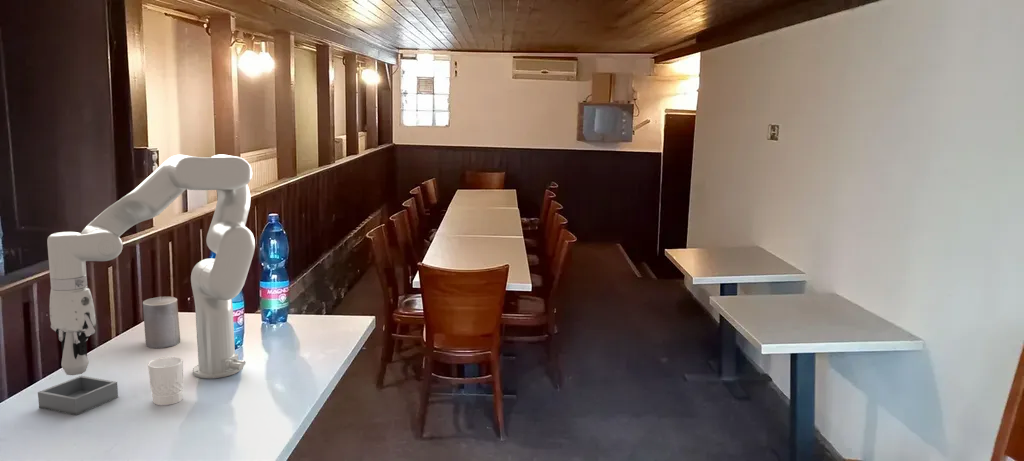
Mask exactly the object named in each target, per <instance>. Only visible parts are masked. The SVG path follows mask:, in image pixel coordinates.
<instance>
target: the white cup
mask: <svg viewBox="0 0 1024 461" xmlns="http://www.w3.org/2000/svg"><path fill="white" fill-rule="evenodd" d="M147 368H148V369H147V370H148V376H149V383H150V391H151V395H152V402H153V404H154V405H157V406H170V405H173V404H177V403H179V402H181V401H183V398H184V397H183V396H184V393H183V389H184V360H183V358H181V357H178V356H165V357H160V358H156V359H153V360H150V361H149V362H148V364H147Z"/></svg>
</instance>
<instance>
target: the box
mask: <svg viewBox="0 0 1024 461" xmlns="http://www.w3.org/2000/svg"><path fill="white" fill-rule="evenodd" d="M118 390H119V389H118V381H113V380H108V379H102V378H96V377H91V376H85V375H79V376H76V377H74V378H71V379H69V380H66V381H64V382H61V383H58V384H55V385H54V386H51V387H48V388H45V389H42V390H39V391H38V392H37V398H38V408H39V409H43V410H48V411H53V412H58V413H62V414H63V413H64V414H66V415H67V414H68V415H72V416H78V415H81V414H83V413H85V412H88V411H90V410H92V409H94V408H96V407H99V406H101V405H104V404H105V403H108V402H110V401H113V400H115V399H117V398H119V391H118Z"/></svg>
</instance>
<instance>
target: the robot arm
mask: <svg viewBox="0 0 1024 461" xmlns="http://www.w3.org/2000/svg"><path fill="white" fill-rule="evenodd" d="M252 177H253V170H252V166H251V164H250V163H249V162H248V161H247V160H246V159H245V158H242V157H241V156H235V155H228V154H215V155H212V156H211V157H210V156H209V157H208V156H207V157H205V156H204V157H203V156H202V157H201V156H193V155H192V156H191V155H186V154H176V155H175V154H174V155H172V156H170V157H168V158H167V159H166V160H165V161H164V162H162V163H161V165H159V166H158V167H157V168H156V169H155V170H154V171H153V172H151V174H150V175H149V176H147V177H146V178H145V179H144V180H143V181H142V182H141V183H140V184H139V185H137V186H136V187H135V188H134V189H132V190H131V191H130V192H128V193H126V195H124V196H122V197H121V198H120V199H119V200H117V201H116V202H114V203H112V204H111V205H109V206H108V207H107V208H105V209H104V210H103V211H102V212H101V213H100V214H99V215H97V216H96V217H95V218H94V219H93V220H91V221H90V222H89V223H88V224H87V225H86V226H85V227H84V228H83V229H82V231H81V232H77V231H60V232H54V233H51V234H50V235H49V236H47V256H48V266H49V268H48V269H49V278H50V281H49V282H50V293H49V319H50V320H49V321H50V328H51V330H53V331H54V332H55V333H56V335H57V336H58V340H59V341H60V345H61V356H63V349H64V343H65V336H66V332H64V331H63V330H62V329H63V328H66V329H67V330H70V331H73V335H74V341H75V343H74V344H73V352H74V357H75V359H76V358H77V355H78V354H79V355H86V356H87V357H88V350H87V348H88V347H87V341H88V340H89V338H90V336H92V335H94V334H95V333H96V330H95V327H96V325H97V318H96V311H95V310H96V309H95V304H94V298H93V296H92V292H91V289H90V288H89V287H88V277H87V265H86V264H87V263H86V262H108V261H112V260H115V259H116V258H118V257H119V255H120V254H121V253H122V252H123V251H122V250H123V248H124V247H123V246H124V245H123V240H122V238H121V236H122V235H123V234H124V233H125V232H127V231H128V230H130V228H132V227H133V226H135V225H137V224H139V223H141V222H145V221H148V220H151V219H153V218H155V217H157V216H159V215H160V214H162V213H163V212H164V211H165V210H166V209H167V208H168V207H169V206H170V205H171V204H172V203H173V202H175V200H177V198H179V197H180V196H181V195H182V194H183V193H184V192H185V191H186V190H190V191H216V194H217V199H216V204H215V208H214V213H213V215H212V219H211V223H210V225H209V228H208V231H207V234H206V238H205V239H206V240H205V241H206V246H207V247H208V249H209V250H210V251H211V252H212V253H214V254H215V258H213V257H212V258H210V257H209V258H204V259H202V260H199V262H197V263H196V264H195V265H194V266H193V268H192V270H191V275H190V283H191V289H192V296H193V300H194V306H195V307H194V310H195V311H194V312H195V327H196V343H197V344H196V345H197V346H196V347H197V359H198V363H197V364H196V365H195V366H193V368H192V375H193V376H195V377H197V378H199V379H200V378H201V379H221V378H225V377H230V376H233V375H235V374H238V373H239V372H240V371H243V369H244V368H245V365H246V361H245V360H243V359H239V354H238V353H236V350H235V348H236V347H235V328H234V327H235V326H234V308H233V307H234V306H233V300H232V299H235V298H236V297H237V296H238V295H239V294H240V293H241V292H242V289H243V287H244V286H245V283H246V280H247V277H248V273H249V270H250V267H251V264H252V260H253V257H254V255H255V249H256V240H255V237H254V233H253V232H252V231H251V230H250V229H249V228H248V227H247V226H246V224H247V221H248V216H249V212H250V209H251V208H250V207H251V199H252V198H251V192H250V188H249V185H248V184H249V183H250V182H251V180H252ZM80 332H81V335H80V336H79V333H80Z"/></svg>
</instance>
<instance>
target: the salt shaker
mask: <svg viewBox="0 0 1024 461" xmlns="http://www.w3.org/2000/svg"><path fill="white" fill-rule="evenodd" d="M62 330H63V331H64V332H66V336H65V343H64V349H63V356H62V355H61V356H62V358H61V362H60V363H61V368H62V369H63V371H64V373H65V374H66V376H67V375H68V376H78V375H82V374H84V373H85V372H86V371H87V369H88V366H89V363H90V361H89V360H90V359H89V357H88V355H87V356H86V355H79V354H78V355H77V358H76V359H75V357H74V352H73V344H74V343H75V341H74V335H73V331H70V330H67V329H66V328H63V329H62ZM81 333H82V332H80V333H79V336H80V335H81Z"/></svg>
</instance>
